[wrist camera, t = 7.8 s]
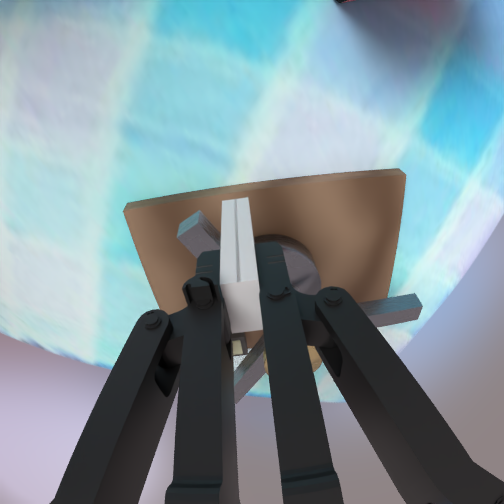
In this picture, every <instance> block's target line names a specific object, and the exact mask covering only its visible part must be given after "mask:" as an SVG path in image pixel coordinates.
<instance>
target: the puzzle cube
mask: <svg viewBox="0 0 504 504" xmlns="http://www.w3.org/2000/svg"><path fill="white" fill-rule="evenodd" d="M335 1H337V2H339V3H343V2H349V1H354V0H335Z"/></svg>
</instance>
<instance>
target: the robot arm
mask: <svg viewBox="0 0 504 504" xmlns="http://www.w3.org/2000/svg"><path fill="white" fill-rule="evenodd" d="M195 273H196V274H195V276H194V277H192V278H190V279H188V280H187V281H186V282H185V283H184V285H183V287H182V291H183V294H184V296H185V299H186V302H187V307H185V308H184V309H182V310H180V311H178V312H175V313H173V314H170V315H168V314H167V313H166V312H165V311H163V310H159V309H156V310H150V311H148V312H146V313H144V314H143V315H141V317H140V318H139V319H138V321H137V322H136V324H135V326H134V328H133V330H132V332H131V334H130V336H129V338H128V339H127V341H126V343H125V345H124V347H123V349H122V351H121V353H120V355H119V357H118V359H117V361H116V363H115V365H114V367H113V369H112V371H111V373H110V375H109V377H108V379H107V381H106V383H105V385H104V387H103V389H102V391H101V394H100V395H99V397H98V399H97V402H96V404H95V406H94V408H93V410H92V412H91V414H90V416H89V419H88V421H87V423H86V425H85V427H84V430H83V432H82V434H81V436H80V439H79V441H78V443H77V445H76V448H75V450H74V452H73V455H72V457H71V459H70V461H69V464H68V466H67V469H66V471H65V473H64V476H63V478H62V481H61V483H60V486H59V488H58V491H57V493H56V496H55V498H54V499H53V501H52V502H51V503H50V504H138V502H139V499H140V496H141V493H142V490H143V487H144V484H145V481H146V478H147V475H148V472H149V469H150V467H151V463H152V461H153V458H154V455H155V452H156V449H157V446H158V443H159V441H160V437H161V435H162V432H163V429H164V427H165V424H166V421H167V418H168V415H169V412H170V409H171V407H172V404H173V401H174V398H175V395H176V393H177V390H178V387H179V392H178V404H177V418H176V433H175V450H174V471H173V481H172V483H171V484H170V485H169V487H168V488H167V490H166V494H165V504H240V500H239V488H238V470H237V469H238V468H237V446H236V424H235V397H234V367H233V343H232V339H231V332H232V333H240V332H249V331H257V330H263V333H264V341H265V350H266V358H267V366H268V374H269V383H270V391H271V399H272V407H273V416H274V424H275V432H276V441H277V449H278V457H279V466H280V474H281V485H282V494H283V503H284V504H344V503H343V497H342V492H341V487H340V483H339V478H338V476H337V473H336V472H335V470H334V467H333V463H332V458H331V453H330V448H329V443H328V439H327V434H326V429H325V424H324V419H323V415H322V410H321V405H320V400H319V396H318V391H317V387H316V382H315V378H314V373H313V369H312V364H311V360H310V355H309V351H308V347H307V346H315V349H316V351H317V353H318V354H319V356H320V358H321V359H322V361H323V363H324V365H325V366H326V368H327V370H328V371H329V373H330V375H331V376H332V378H333V380H334V382H335V383H336V385H337V387H338V388H339V390H340V392H341V394H342V395H343V397H344V399H345V400H346V402H347V404H348V406H349V407H350V409H351V411H352V412H353V414H354V416H355V418H356V419H357V421H358V423H359V424H360V426H361V428H362V430H363V431H364V433H365V435H366V436H367V438H368V440H369V442H370V443H371V445H372V447H373V448H374V450H375V452H376V454H377V455H378V457H379V459H380V461H381V462H382V464H383V466H384V467H385V469H386V471H387V472H388V474H389V476H390V478H391V480H392V481H393V483H394V485H395V486H396V488H397V490H398V492H399V493H400V495H401V496H402V498H403V499H404V501H405V502H406V504H504V482H503V481H501V480H500V479H498V478H497V477H495V476H494V475H492V474H491V473H489V472H488V471H486V470H485V469H483V468H482V467H480V466H479V465H477V464H476V463H474V462H473V461H472V459H471V458H470V457H469V455H468V453H467V452H466V450H465V449H464V447H463V446H462V444H461V443H460V441H459V440H458V439H457V437H456V436H455V434H454V433H453V431H452V430H451V428H450V427H449V426H448V424H447V423H446V421H445V420H444V418H443V417H442V416H441V414H440V413H439V411H438V410H437V409H436V407H435V406H434V404H433V403H432V402H431V400H430V399H429V397H428V396H427V395H426V393H425V392H424V391H423V389H422V388H421V386H420V385H419V384H418V382H417V381H416V379H415V378H414V377H413V375H412V374H411V373H410V372H409V370H408V369H407V367H406V366H405V365H404V363H403V362H402V361H401V359H400V358H399V357H398V355H397V354H396V353H395V351H394V350H393V349H392V347H391V346H390V345H389V344H388V342H387V341H386V340H385V338H384V337H383V336H382V334H381V333H380V332H379V331H378V329H377V328H376V327H375V325H374V324H373V323H372V322H371V320H370V319H369V318H368V316H367V315H366V314H365V313H364V311H363V310H362V309H361V308H360V306H359V305H358V304H357V303H356V301H355V300H354V299H353V298H352V296H351V295H350V294H349V293H348V292H347V291H346V290H345V289H343V288H340V287H334V286H330V287H325V288H323V289H321V290H319V292H318V293H317V294H316V295H309V294H303V293H301V292H298V291H297V290H295V289H294V288H293V287H292V285H291V283H290V279H289V274H288V270H287V266H286V262H285V258H284V253H283V249H282V247H281V246H280V245H279V244H278V243H277V242H276V241H272V242H265V243H258V244H255V243H254V236H253V228H252V221H251V214H250V207H249V200H248V197H246V198H239V199H232V200H225V201H222V217H221V249H219V250H212V251H204V252H202V253H201V254H200V256H199V257H198V258H197V263H196V272H195Z"/></svg>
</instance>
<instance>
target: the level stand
mask: <svg viewBox="0 0 504 504" xmlns="http://www.w3.org/2000/svg"><path fill="white" fill-rule="evenodd" d="M405 182H406V174H405V173H404V172H402V171H401V170H400V169H383V170H369V171H356V172H344V173H333V174H323V175H313V176H303V177H294V178H285V179H277V180H269V181H261V182H253V183H246V184H239V185H231V186H225V187H218V188H211V189H205V190H198V191H192V192H186V193H180V194H174V195H168V196H163V197H157V198H152V199H146V200H141V201H136V202H130V203H127V205H126V206H125V208H124V210H123V212H124V215H125V218H126V221H127V224H128V227H129V230H130V233H131V236H132V239H133V241H134V244H135V247H136V250H137V252H138V255H139V258H140V260H141V263H142V266H143V268H144V271H145V273H146V276H147V279H148V281H149V284H150V286H151V289H152V291H153V294H154V296H155V299H156V301H157V303H158V306H159V308H160V310H163V311H165V312H166V313H167V314H168V315H170V314H173V313H175V312H178V311H180V310H182V309H184V308H185V307H187V302H186V299H185V296H184V294H183V291H182V287H183V285H184V283H185V282H186V281H187V280H188V279H190V278H192V277H194V276H195V274H196V273H195V272H196V263H197V258H196V257H195V256H194V255H193V254H192V253H191V252H190V251H189V250H188V249H187V248H186V247H185V246H184V245H183V244H182V243H181V242H180V241H179V240H178V239H177V234H178V229H179V225H180V223H182V222H183V221H184V220H186V219H187V218H189V217H190V216H192V215H193V214H194V213H196V212H197V211H199V210H200V211H201V212H202V213H203V214H204V215H205V216H206V217H207V219H208V220H209V221H210V222H211V223H212V224H213V225H214V226H215V228H216V229H217V230H218V231H219V232H220V233H221V217H222V201H225V200H232V199H239V198H246V197H248V200H249V207H250V214H251V221H252V228H253V236H254V237H258V236H262V235H269V234H277V235H284V236H288V237H291V238H294V239H296V240H298V241H299V242H301V243H302V244H304V245H305V246H306V247H307V248H308V250H309V251H310V253H311V254H312V257H313V259H314V262H315V265H316V267H317V270H318V273H319V276H320V279H321V289H323V288H325V287H330V286H334V287H340V288H343V289H345V290H346V291H347V292H348V293H349V294H350V295H351V296H352V298H353V299H354V300H355V301H356V303H359V302H366V301H372V300H379V299H385V298H387V296H388V291H389V286H390V282H391V276H392V271H393V266H394V261H395V255H396V249H397V243H398V237H399V230H400V223H401V216H402V209H403V200H404V192H405ZM263 334H264V333H263V330H257V331H249V332H240V333H232V332H231V339H232V343H233V356H239V355H248V350H247V349H248V348H253V347H254V346H255V344H256V343H257V342H258V340H259V339H260V338H261V336H262V335H263Z"/></svg>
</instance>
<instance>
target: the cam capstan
mask: <svg viewBox="0 0 504 504" xmlns="http://www.w3.org/2000/svg"><path fill="white" fill-rule="evenodd" d="M177 239H178V240H179V241H180V242H181V243H182V244H183V245H184V246H185V247H186V248H187V249H188V250H189V251H190V252H191V253H192V254H193V255H194V256H195V257H196V258H198V257H199V256H200V254H201V253H202V252H204V251H212V250H219V249H221V233H220V232H219V231H218V230H217V229H216V228H215V226H214V225H213V224H212V223H211V222H210V221H209V220H208V219H207V217H206V216H205V215H204V214H203V213H202V212H201V211H200V210H199V211H197V212H196V213H194V214H193V215H192V216H190V217H189V218H187V219H186V220H184V221H183V222H182V223H180V225H179V229H178V234H177ZM272 241H276V242H277V243H278V244H279V245H280V246H281V247H282V249H283V253H284V258H285V262H286V266H287V270H288V274H289V279H290V283H291V285H292V287H293V288H294V289H295V290H297V291H298V292H301V293H303V294H309V295H316V294H317V293H318V292H319V290H321V279H320V276H319V273H318V270H317V267H316V265H315V262H314V259H313V257H312V254H311V253H310V251H309V250H308V248H307V247H306V246H305V245H304V244H302V243H301V242H299V241H298V240H296V239H294V238H291V237H288V236H284V235H277V234H269V235H262V236H258V237H254V243H255V244H258V243H265V242H272ZM357 304H358V305H359V306H360V308H361V309H362V310H363V311H364V313H365V314H366V315H367V316H368V318H369V319H370V320H371V322H372V323H373V324H374V325H375V327H376V328H377V327H382V326H387V325H393V324H398V323H403V322H407V321H412V320H417V319H418V318H419V315H420V312H421V310H422V307H423V306H422V304H421V302H420V301H419V299H418V297H417V296H416V294H415V293H414V294H409V295H403V296H397V297H391V298H385V299H379V300H372V301H366V302H359V303H357ZM307 347H308V351H309V355H310V360H311V364H312V369H313V372H315V371H316V370H317V369H318V368H319V367H320V365H321V363H322V359H321V358H320V356H319V354H318V353H317V351H316V349H315V346H307ZM265 372H266V373H267V374H268V366H267V358H266V350H265V341H264V334H263V335H262V336H261V338H260V339H259V340H258V342H257V343H256V344H255V346H254V347H253V348H252V349H251V351H250V352H249V353H248V355H247V356H246V357H245V358H244V360H243V361H242V362H241V364H240V365H239V366H238V367H237V369H236V370H235V371H234V397H235V403H238V402H239V400H240V399H241V398H242V397H243V396H244V395H245V394H246V393H247V392H248V391H249V390H250V389H251V388H252V387H253V386H254V384H255V383H256V382H257V381H258V380H259V379H260V378H261V377H262V376H263V375H264V374H265ZM268 375H269V374H268Z"/></svg>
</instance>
